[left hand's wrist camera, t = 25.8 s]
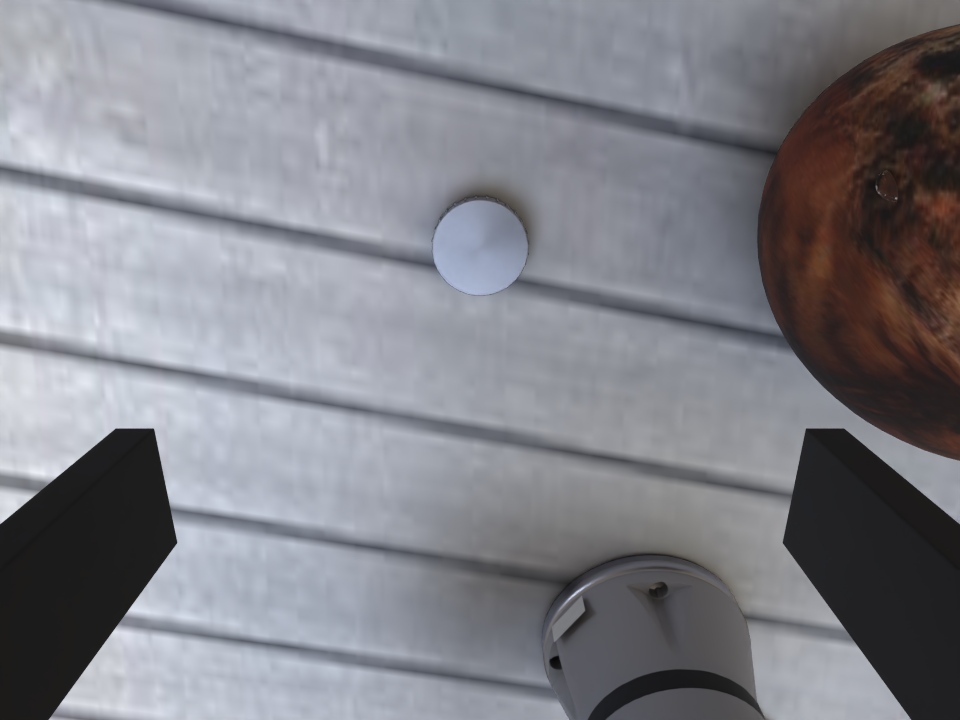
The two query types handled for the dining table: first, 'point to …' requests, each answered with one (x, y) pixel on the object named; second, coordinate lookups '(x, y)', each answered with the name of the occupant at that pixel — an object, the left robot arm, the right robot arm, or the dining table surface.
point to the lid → (480, 246)
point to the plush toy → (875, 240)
